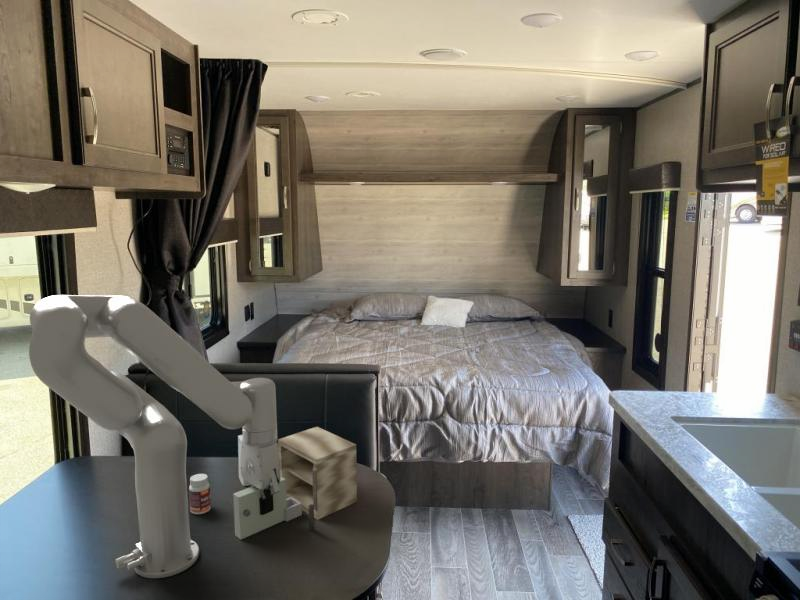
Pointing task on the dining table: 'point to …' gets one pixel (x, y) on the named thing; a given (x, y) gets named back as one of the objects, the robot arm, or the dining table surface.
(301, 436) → the cabinet
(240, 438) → the skincare box
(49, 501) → the dining table surface
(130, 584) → the dining table surface
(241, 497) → the door
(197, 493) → the pill bottle
